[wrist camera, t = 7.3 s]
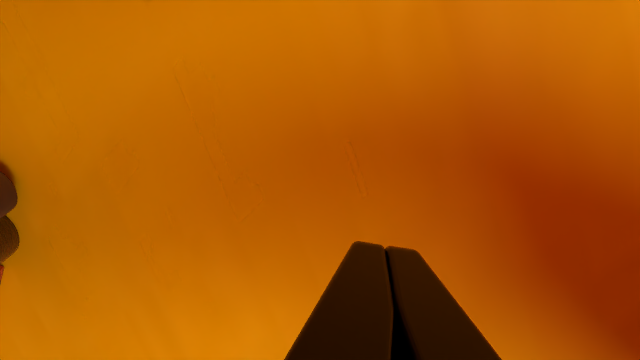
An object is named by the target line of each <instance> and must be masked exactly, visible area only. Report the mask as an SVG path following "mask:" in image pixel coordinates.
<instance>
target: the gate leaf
mask: <svg viewBox="0 0 640 360" xmlns="http://www.w3.org/2000/svg"><path fill="white" fill-rule="evenodd" d="M16 204H17V192H16V189H15V187H14V185H13V184H12V182H11V181H10V180H9V179H8V178H7V176H5V175H4V174H3V173H1V172H0V218H2V217H3V216H4V215H6V214H7V213H8V212H10V211H11V210H12V209H13V208H14V207H15V206H16Z"/></svg>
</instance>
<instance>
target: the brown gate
mask: <svg viewBox="0 0 640 360" xmlns="http://www.w3.org/2000/svg"><path fill="white" fill-rule="evenodd" d="M18 246H19V235H18V232H17V230H16V228H15V226H14V225H13V223H12V222H11V221H10V220H9V219H8V218H7V217H6V216H5V215H4V216H3V217H2V218H0V264H1V263H2V262H4V261H5V260H6V259H7V258H8V257H9V256H11V255H12V254H13V253H14V252H15V251H16V250H17V248H18ZM3 270H4V267H3V266H1V265H0V283H1V279H2V274H3Z"/></svg>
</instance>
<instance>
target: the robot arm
mask: <svg viewBox="0 0 640 360" xmlns="http://www.w3.org/2000/svg"><path fill="white" fill-rule="evenodd" d="M284 360H502V359H501V358H500V357H499V356H498V354H497V353H496V352H495V350H494V349H493V348H492V347H491V345H490V344H489V343H488V341H487V340H486V339H485V337H484V336H483V335H482V334H481V332H480V331H479V330H478V328H477V327H476V326H475V325H474V323H473V322H472V321H471V319H470V318H469V317H468V316H467V314H466V313H465V312H464V310H463V309H462V308H461V307H460V305H459V304H458V303H457V301H456V300H455V299H454V298H453V296H452V295H451V294H450V292H449V291H448V290H447V289H446V287H445V286H444V285H443V283H442V282H441V281H440V280H439V278H438V277H437V276H436V274H435V273H434V272H433V271H432V269H431V268H430V267H429V265H428V264H427V263H426V262H425V260H424V259H423V258H422V256H421V255H420V254H419V253H418V252H417V251H416V250H413V249H407V248H400V247H393V246H389V247H387V248H386V249H384V247H383V246H382V245H379V244H373V243H366V242H360V241H356V242H354V243H353V244H352V245H351V247H350V249H349V250H348V252H347V254H346V255H345V257H344V259H343V260H342V262H341V264H340V266H339V267H338V269H337V271H336V272H335V274H334V276H333V277H332V279H331V281H330V283H329V284H328V286H327V288H326V289H325V291H324V293H323V294H322V296H321V298H320V300H319V301H318V303H317V305H316V306H315V308H314V310H313V311H312V313H311V315H310V316H309V318H308V320H307V322H306V323H305V325H304V327H303V328H302V330H301V332H300V333H299V335H298V337H297V339H296V340H295V342H294V344H293V345H292V347H291V349H290V350H289V352H288V354H287V356H286V357H285V359H284Z"/></svg>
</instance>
